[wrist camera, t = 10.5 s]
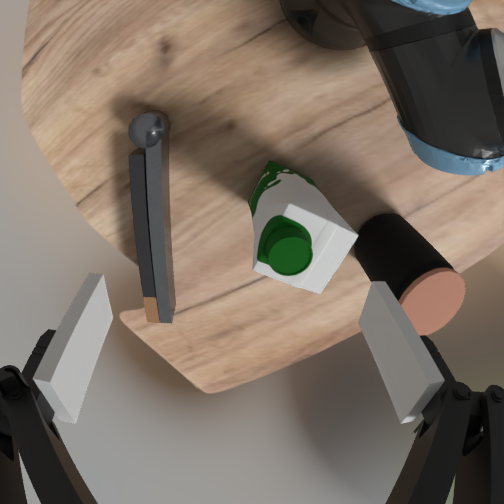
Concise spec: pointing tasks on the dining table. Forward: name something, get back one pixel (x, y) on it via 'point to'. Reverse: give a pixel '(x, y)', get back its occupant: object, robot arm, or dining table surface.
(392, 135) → the dining table surface
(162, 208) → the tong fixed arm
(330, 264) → the milk carton
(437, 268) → the coffee jar
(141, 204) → the arm
